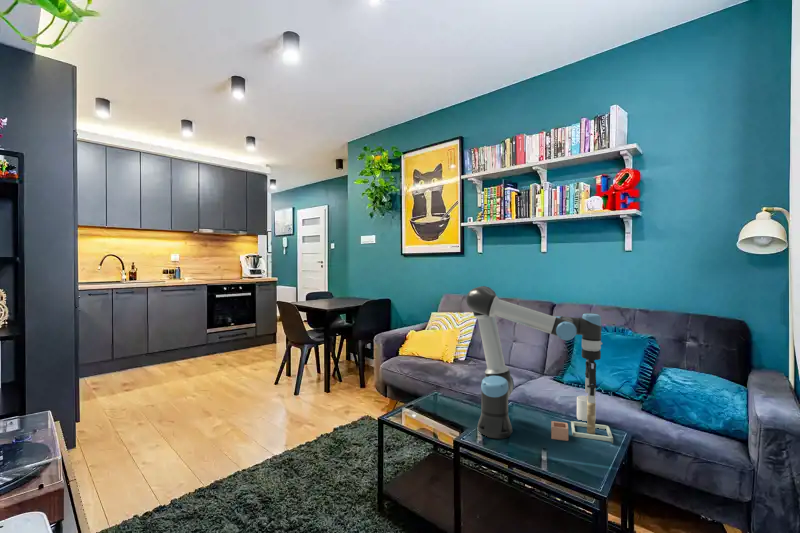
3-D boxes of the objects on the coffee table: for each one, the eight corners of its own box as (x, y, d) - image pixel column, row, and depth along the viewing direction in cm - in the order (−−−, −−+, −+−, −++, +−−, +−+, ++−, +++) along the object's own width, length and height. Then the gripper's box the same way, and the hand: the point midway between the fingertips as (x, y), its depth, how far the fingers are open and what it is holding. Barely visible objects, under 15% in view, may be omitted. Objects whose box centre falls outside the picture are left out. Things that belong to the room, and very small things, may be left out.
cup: (592, 416, 195) (592, 396, 195) (601, 426, 183) (601, 404, 183) (574, 416, 196) (574, 395, 196) (582, 425, 184) (582, 404, 184)
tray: (572, 438, 171) (572, 432, 171) (571, 426, 183) (571, 421, 183) (613, 444, 165) (613, 438, 165) (608, 431, 178) (608, 425, 178)
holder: (551, 440, 169) (551, 426, 168) (551, 434, 175) (551, 420, 175) (568, 443, 166) (568, 429, 166) (567, 436, 172) (567, 423, 172)
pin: (587, 433, 173) (587, 397, 173) (586, 430, 176) (586, 394, 176) (595, 434, 172) (595, 398, 172) (594, 432, 175) (594, 395, 175)
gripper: (604, 356, 161) (603, 408, 161) (597, 344, 184) (596, 389, 185) (584, 354, 164) (582, 405, 164) (579, 343, 187) (578, 387, 187)
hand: (590, 397), depth 174 cm, fingers open, 13 cm apart
